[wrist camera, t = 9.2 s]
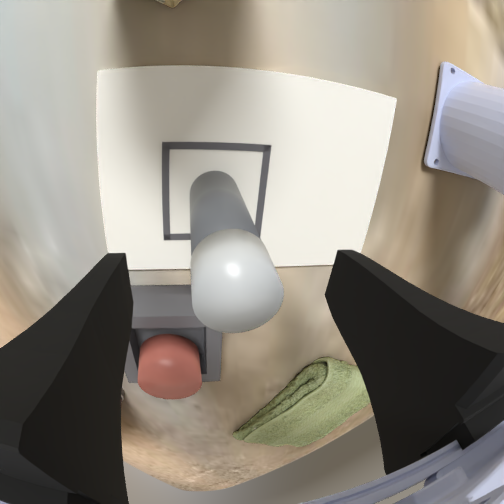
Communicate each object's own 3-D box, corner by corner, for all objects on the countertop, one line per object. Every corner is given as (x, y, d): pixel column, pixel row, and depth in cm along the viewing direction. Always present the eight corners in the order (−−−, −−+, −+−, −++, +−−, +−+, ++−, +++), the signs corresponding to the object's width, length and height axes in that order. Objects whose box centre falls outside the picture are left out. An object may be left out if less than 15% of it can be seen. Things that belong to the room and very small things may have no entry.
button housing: (217, 284, 20) (223, 314, 18) (215, 351, 24) (220, 380, 21) (115, 285, 19) (107, 316, 16) (131, 353, 22) (128, 382, 20)
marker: (248, 184, 17) (301, 283, 9) (222, 224, 18) (251, 341, 10) (205, 160, 15) (222, 247, 8) (179, 203, 16) (176, 317, 9)
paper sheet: (393, 98, 15) (397, 98, 15) (355, 261, 22) (357, 264, 21) (99, 70, 12) (97, 70, 12) (111, 267, 18) (110, 270, 18)
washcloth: (226, 429, 33) (230, 451, 31) (316, 346, 27) (328, 373, 24) (303, 434, 39) (309, 452, 36) (390, 363, 32) (402, 383, 30)
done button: (198, 332, 18) (201, 363, 16) (199, 370, 20) (202, 398, 18) (135, 333, 17) (131, 363, 15) (144, 371, 19) (143, 399, 17)
